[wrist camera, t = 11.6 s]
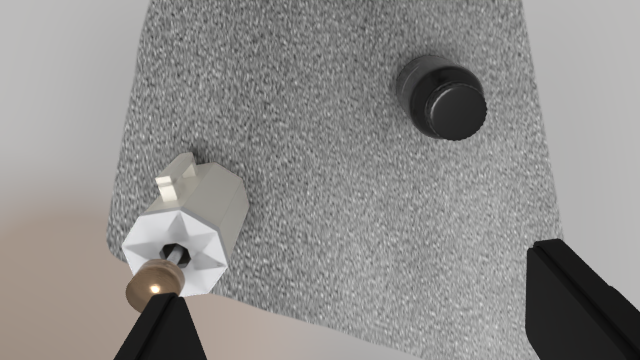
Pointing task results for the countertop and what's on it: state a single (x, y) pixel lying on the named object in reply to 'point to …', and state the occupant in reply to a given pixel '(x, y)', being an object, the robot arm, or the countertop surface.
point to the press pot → (191, 222)
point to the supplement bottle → (441, 98)
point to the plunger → (156, 279)
